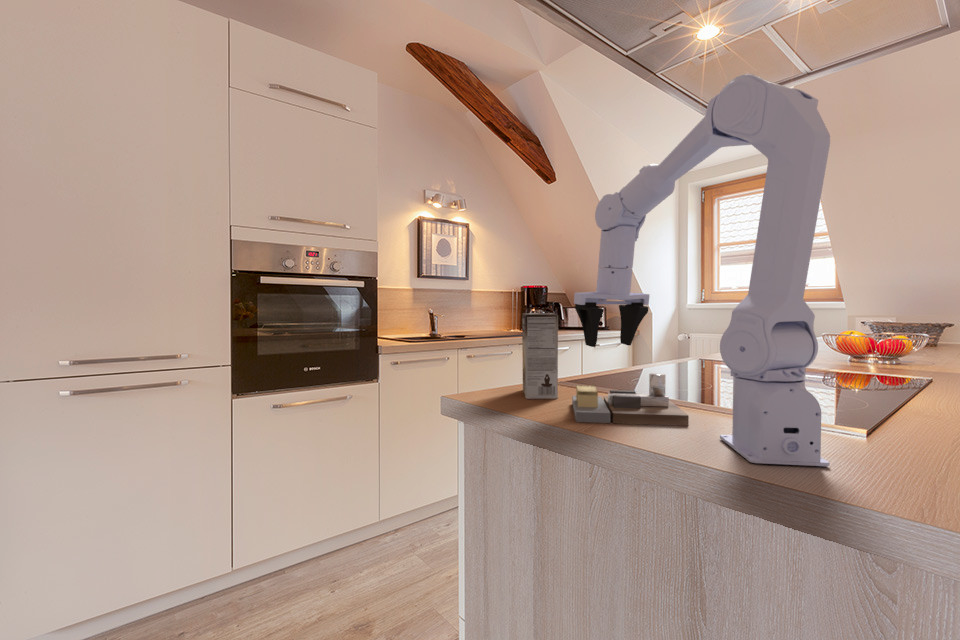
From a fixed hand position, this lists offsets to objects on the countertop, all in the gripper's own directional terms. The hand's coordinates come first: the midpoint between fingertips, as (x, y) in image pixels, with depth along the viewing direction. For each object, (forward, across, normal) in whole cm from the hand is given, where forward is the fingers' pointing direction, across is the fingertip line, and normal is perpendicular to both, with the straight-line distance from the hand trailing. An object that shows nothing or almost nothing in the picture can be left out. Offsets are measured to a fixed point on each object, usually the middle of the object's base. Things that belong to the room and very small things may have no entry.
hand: (608, 345), depth 78 cm
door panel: (+9, 0, +10) cm, 13 cm away
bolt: (+8, 0, +9) cm, 12 cm away
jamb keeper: (+10, +7, +5) cm, 13 cm away
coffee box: (+12, +7, -11) cm, 18 cm away
